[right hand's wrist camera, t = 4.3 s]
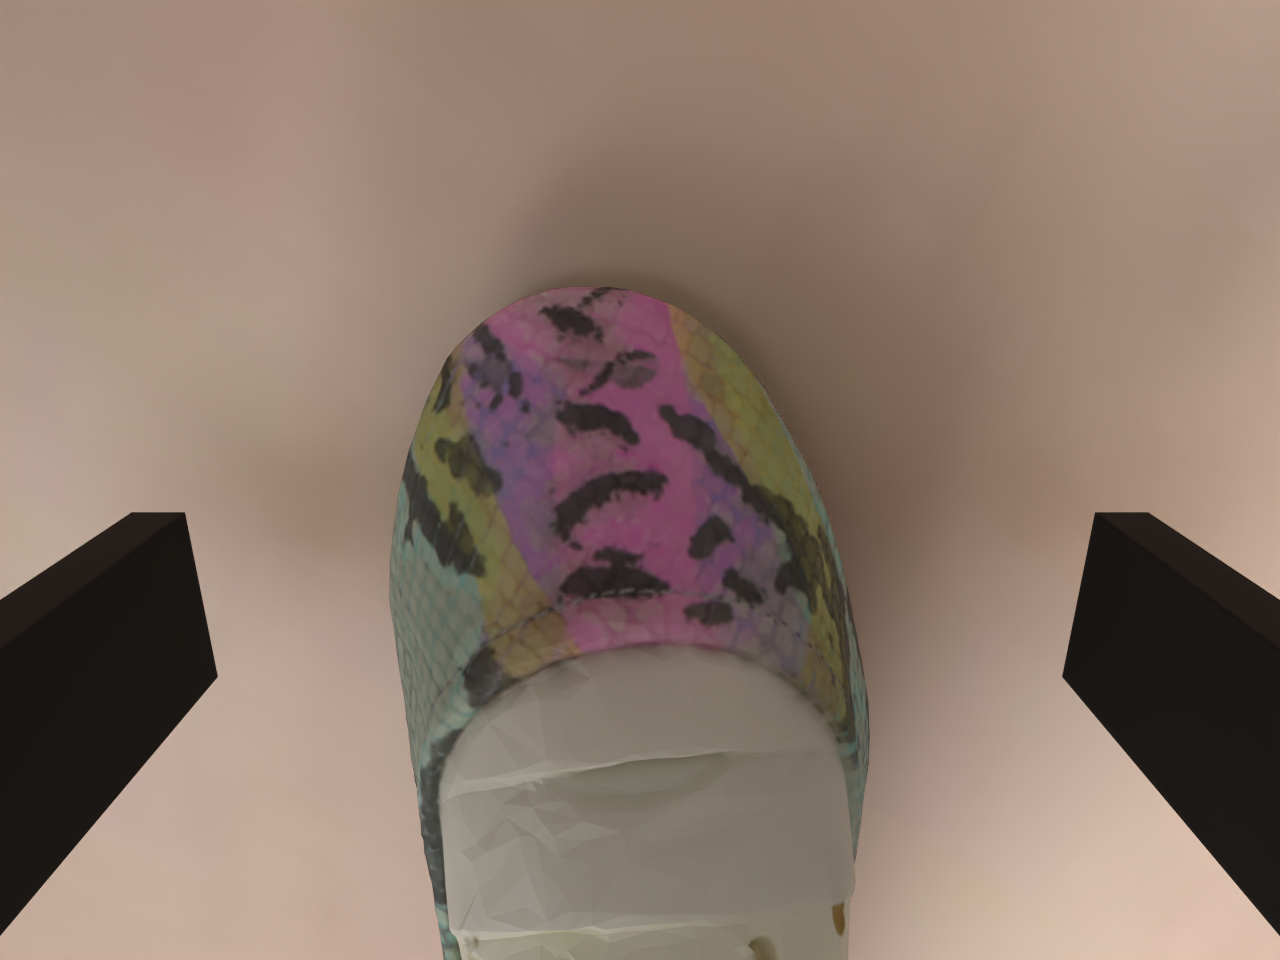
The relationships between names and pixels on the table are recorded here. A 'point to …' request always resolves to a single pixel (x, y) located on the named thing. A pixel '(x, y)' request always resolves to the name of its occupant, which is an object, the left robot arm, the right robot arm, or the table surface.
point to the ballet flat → (624, 648)
